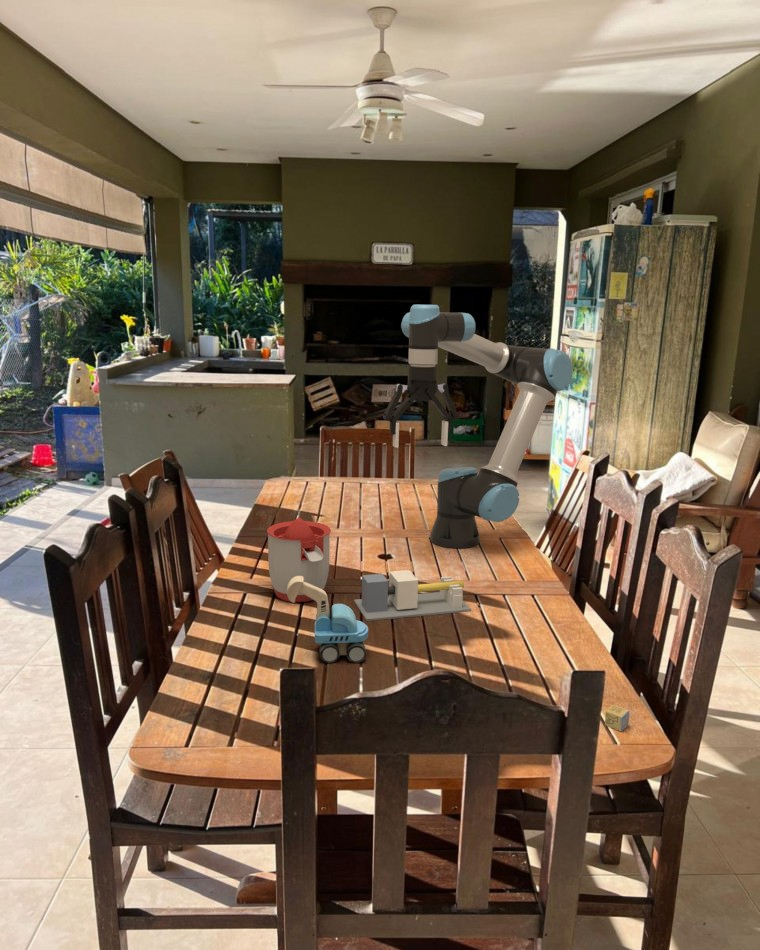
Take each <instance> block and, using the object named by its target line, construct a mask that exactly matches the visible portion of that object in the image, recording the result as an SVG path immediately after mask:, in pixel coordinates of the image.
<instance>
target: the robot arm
mask: <svg viewBox="0 0 760 950" xmlns="http://www.w3.org/2000/svg"><path fill="white" fill-rule="evenodd" d="M400 328H401V331H402V333H403V334H404V336H405V337H407V338H408V364H409V365H408V367H407V383H406V385H405V384H401V383H396V384H395V389H394V393H393V396H392V397H391V400H390V401H389V403H388V406H387V407H386V408H385V411H384V412H383V415H382V418H383V420H385V421H387V422H389V434H390V435H391V436H392V447H394V448H397V449H398V448H399V440H400V439H399V438H400V437H399V436H400V423H399V421H398V420H399V419H400V417H401V416H402V415H403V414H404V413H405V412H406V410H407V409H408V408H409V407H410V406H411V404H413V403H414V401H415V402H417V403H418V402H427V403H429V401H430V402H431V403H432V404H433V406H434V407H435V409H437V411H438V412H439V413H440V415H441V416H442V417H443V418H444V420H441V433H440V434H441V437H440V438H441V439H440V445H442V446H444V447H448V437H449V436H448V435H449V434H451V432H452V422H453V421H454V420H457V419H459V414H458V412H457V409H456V406H455V404H454V401H453V400H452V397H451V394H450V393H449V385H448V384H447V383H444V382H442V383H440V384H437V379H438V367H437V366H436V365H438V357H439V356H438V355H439V353H438V352H439V348H440V349H442V350H445V351H447V352H449V353H452V354H454V355H456V356H459V357H461V358H464V359H466V360H468V361H470V362H473V363H475V364H478V365H480V366H483V367H484V368H485V369H486V371H487V372H489V373H491V374H492V375H494V376H496V377H499V378H501V379H504V380H506V381H508V382H510V383H513V384H515V385H517V388H518V391H519V393H518V395H517V398H516V399H515V401H514V404H513V407H512V409H511V411H510V413H509V416H508V418H507V420H506V423H505V424H504V428H503V429H502V431H501V435H500V436H499V439H498V441H497V443H496V446H495V448H494V451H493V452H492V455H491V458H490V459H489V462H488V464H486V465H484V466H481V468H480V469H479V472H478V469H477V468H476V467H473V466H457V467H456V466H455V467H448V468H443V469H441V470H440V472H439V473H438V479H437V480H438V481H437V499H436V500H437V501H436V502H437V505H436V517H435V520H434V523H433V526H432V529H431V531H430V537H429V538H430V539H429V540H430V542H431V543H432V544H434V545H437V546H439V547H442V548H443V547H444V548H448V549H449V548H450V549H467V548H473V547H477V545H479V544H480V537H481V536H480V532H479V528H478V525H477V521H476V517H478V518H481V519H483V520H485V521H487V522H488V521H490V522H494V523H502V522H504V521H505V520H508V519H509V518H511V517H512V515H513V514H514V513H515V512H516V510H517V509H518V506H519V503H520V493H519V490H518V488H517V486H518V484H519V482H518V479H517V473H518V472H519V469H520V466H521V464H522V461H523V459H524V457H525V454H526V452H527V449H528V448H529V446H530V443H531V441H532V439H533V436H534V434H535V432H536V429H537V426H538V424H539V423H540V420H541V417H542V416H543V413H544V411H545V408H546V406H547V405H548V404H547V403H549V402H552V401H554V400H555V398H556V395H557V394H558V392H561V391H564V390H565V389H568V387H570V385H571V382H572V380H573V375H574V370H573V369H574V368H573V365H572V360H571V357H570V356H569V355H568V354H567V352H566V351H564V350H561V349H555V348H552V347H551V348H543V347H542V348H541V347H529V346H517V345H516V346H515V345H511V344H510V345H509V344H506V343H504V342H501V341H500V342H499V341H498V342H494V341H491V340H489V339H486V338H485V337H483V336H480V335H478V334H476V321H475V318H474V317H473V316H472V315H471V314H470V313H468V312H467V313H466V312H461V311H460V312H447V311H445V312H441V311H440V307H439V305H438V304H412V306H411V307H410V310H409V312H407V313H405V315H404V316H403V318H402V321H401V324H400ZM405 391H406V392H407V395H406V396H405V398H404V400H403V401H402V402H401V403H400V405H399V406H398V403H399V401H400V399H401V397H402V394H404V393H405ZM438 391H439V392H440V393H441V395H442V398H443V400H444V403H445V405H446V408H447V410H448V411H447V410H446V408H445V407H444V406H443V404H442V403H441V402H440V401H439V399H438V397H437V395H435V394H436V393H437V392H438ZM397 406H398V407H397ZM396 407H397V409H396ZM395 409H396V410H395Z"/></svg>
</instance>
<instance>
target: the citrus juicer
mask: <svg viewBox="0 0 760 950" xmlns="http://www.w3.org/2000/svg"><path fill="white" fill-rule="evenodd" d="M331 531H332V530H331V527H330V526H328V525H327V524H324V523H321V522H315V521H310V520H309V521H308V520H304V519H302V518H301V517H297V518H296V519H295V520H292V521H291V520H290V521H283V522H279V523H276V524H273V525H271V526H269V527H268V528H267V530H266V533H267V549H268V550H267V552H268V553H267V558H268V565H267V566H268V572H269V578H270V581H271V584H272V588H273V591H274V594H275V595H276V597H277V598H279V599H280V600H282V601H286V602H290V603H293V602H291V601H290V600H289V599H288V597H287V586H288V583H289V581H290V580H291V579H292V578H294V577H296V576H303V577H304V582H306V583H309V584H311V585H313V586H316V587H318V588H320V589H322V590H324V591H325V588H326V584H327V581H328V578H329V573H330V543H331V541H330V538H331V537H330V534H331V533H332V532H331ZM309 601H314V600H313V599H311V598H310V597H308V596H306V595H304V594H302V593H301V592H299V593H298V595H297V597H296V599H295V603H301V602H309ZM293 604H294V603H293Z"/></svg>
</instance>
